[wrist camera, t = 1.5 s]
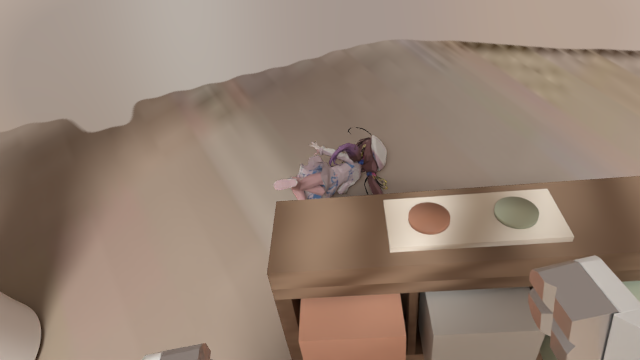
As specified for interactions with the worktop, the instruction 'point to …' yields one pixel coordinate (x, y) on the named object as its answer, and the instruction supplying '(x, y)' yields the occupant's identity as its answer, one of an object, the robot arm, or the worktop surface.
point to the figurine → (338, 170)
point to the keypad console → (446, 242)
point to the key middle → (478, 325)
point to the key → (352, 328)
